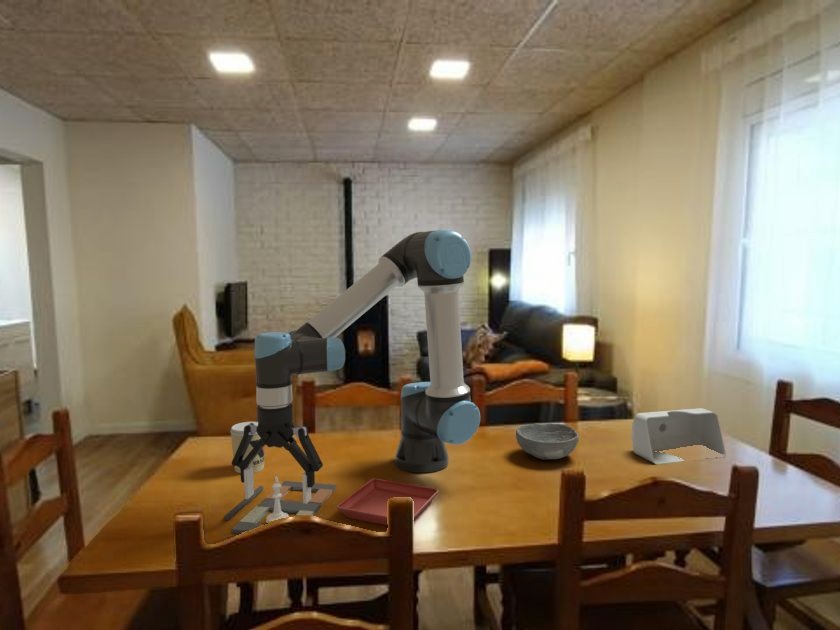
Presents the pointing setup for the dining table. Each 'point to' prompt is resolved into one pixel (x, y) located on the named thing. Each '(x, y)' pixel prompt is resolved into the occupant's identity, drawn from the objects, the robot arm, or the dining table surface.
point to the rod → (242, 504)
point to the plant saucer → (383, 499)
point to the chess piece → (276, 503)
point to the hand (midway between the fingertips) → (278, 498)
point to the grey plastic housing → (675, 433)
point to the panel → (286, 504)
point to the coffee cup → (237, 436)
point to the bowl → (547, 440)
